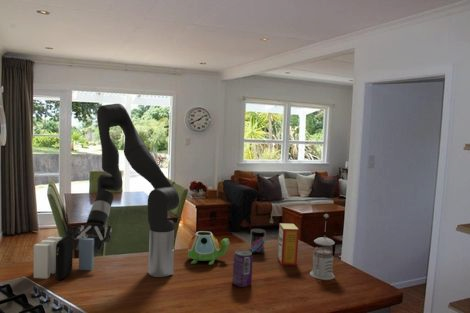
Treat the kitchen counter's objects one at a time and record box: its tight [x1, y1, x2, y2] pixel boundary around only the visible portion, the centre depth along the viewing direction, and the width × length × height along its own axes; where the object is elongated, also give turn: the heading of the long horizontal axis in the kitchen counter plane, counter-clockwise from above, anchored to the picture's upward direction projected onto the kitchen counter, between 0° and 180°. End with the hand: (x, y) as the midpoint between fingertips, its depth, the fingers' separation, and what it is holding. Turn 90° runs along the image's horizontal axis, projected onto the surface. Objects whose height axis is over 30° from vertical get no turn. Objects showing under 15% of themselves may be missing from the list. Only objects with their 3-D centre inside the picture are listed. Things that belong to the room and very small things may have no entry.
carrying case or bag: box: [55, 234, 74, 281], centre depth 137 cm, size 11×3×15 cm, turn 1°
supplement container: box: [249, 228, 266, 255], centre depth 175 cm, size 7×7×10 cm
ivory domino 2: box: [46, 236, 63, 242], centre depth 145 cm, size 2×5×12 cm, turn 89°
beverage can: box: [231, 249, 254, 288], centre depth 139 cm, size 7×7×12 cm
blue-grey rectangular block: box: [78, 237, 95, 271], centre depth 145 cm, size 2×5×12 cm, turn 89°
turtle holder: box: [187, 230, 230, 265], centre depth 162 cm, size 12×18×12 cm
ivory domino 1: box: [33, 243, 51, 280], centre depth 136 cm, size 2×5×12 cm, turn 89°
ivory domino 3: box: [40, 239, 57, 275], centre depth 141 cm, size 2×5×12 cm, turn 89°
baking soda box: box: [277, 222, 300, 266], centre depth 165 cm, size 10×6×16 cm
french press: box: [309, 213, 336, 281], centre depth 150 cm, size 10×12×25 cm
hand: (87, 250), depth 146 cm, fingers open, 8 cm apart
